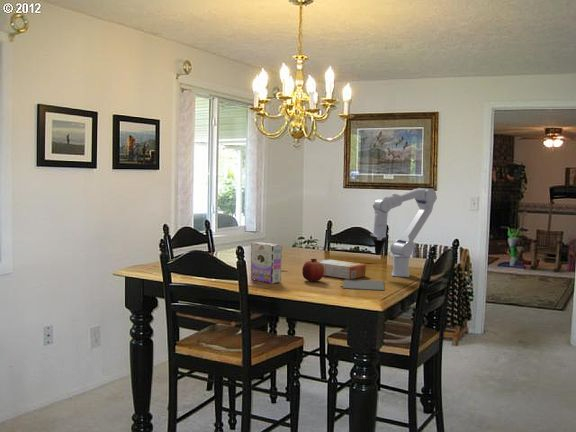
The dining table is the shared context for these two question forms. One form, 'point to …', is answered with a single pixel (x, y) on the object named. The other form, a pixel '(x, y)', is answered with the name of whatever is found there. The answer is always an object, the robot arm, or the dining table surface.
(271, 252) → the candy box
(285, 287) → the dining table surface
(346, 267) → the cracker box
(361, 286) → the mat
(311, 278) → the fruit
